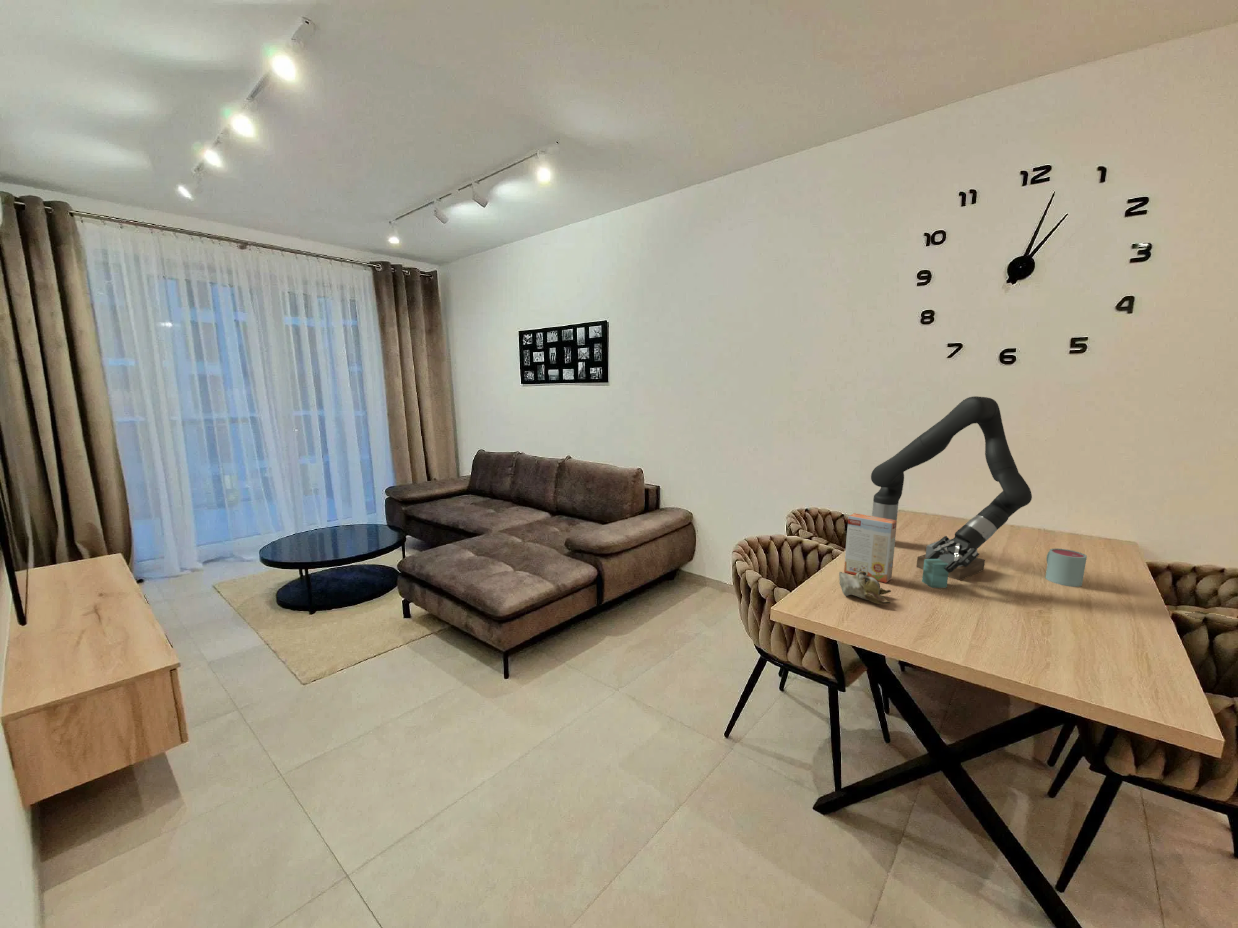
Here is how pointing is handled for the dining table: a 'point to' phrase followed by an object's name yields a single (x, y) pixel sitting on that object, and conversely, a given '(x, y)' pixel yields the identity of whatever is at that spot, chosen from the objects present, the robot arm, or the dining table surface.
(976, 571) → the tower base slab
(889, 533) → the cracker box
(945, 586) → the teal pillar
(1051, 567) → the mug
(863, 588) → the ceramic sculpture
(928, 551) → the tower top slab
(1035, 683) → the dining table surface
